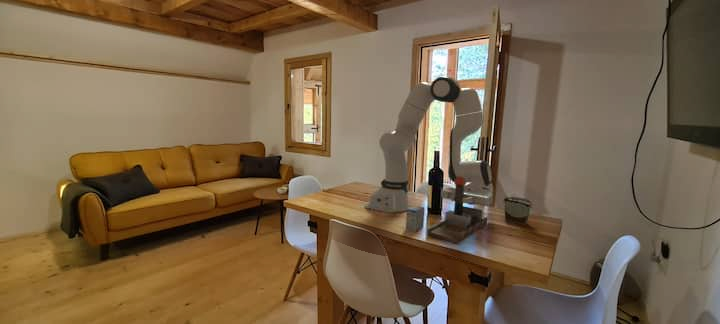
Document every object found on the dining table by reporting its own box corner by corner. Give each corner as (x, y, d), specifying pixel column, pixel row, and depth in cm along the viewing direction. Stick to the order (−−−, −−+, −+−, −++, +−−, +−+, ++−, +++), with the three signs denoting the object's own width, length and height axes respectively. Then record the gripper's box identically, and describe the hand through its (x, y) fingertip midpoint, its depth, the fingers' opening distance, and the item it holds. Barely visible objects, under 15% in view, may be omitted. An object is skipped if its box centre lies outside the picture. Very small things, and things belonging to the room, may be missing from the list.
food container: (536, 223, 136) (538, 201, 134) (528, 226, 132) (531, 203, 131) (509, 216, 146) (511, 195, 144) (501, 218, 142) (503, 197, 141)
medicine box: (414, 224, 132) (414, 204, 131) (423, 226, 130) (424, 206, 129) (405, 229, 126) (406, 208, 125) (415, 232, 124) (416, 211, 122)
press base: (456, 244, 111) (458, 226, 110) (427, 236, 119) (427, 218, 118) (487, 224, 134) (488, 208, 133) (460, 218, 141) (461, 203, 140)
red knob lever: (466, 229, 120) (469, 178, 118) (444, 224, 126) (447, 175, 123) (470, 226, 124) (473, 177, 121) (449, 221, 130) (452, 174, 127)
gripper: (449, 183, 139) (434, 188, 129) (496, 190, 126) (484, 196, 116) (448, 196, 140) (434, 202, 130) (495, 205, 127) (483, 212, 117)
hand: (458, 199), depth 123 cm, fingers closed on red knob lever, 3 cm apart
